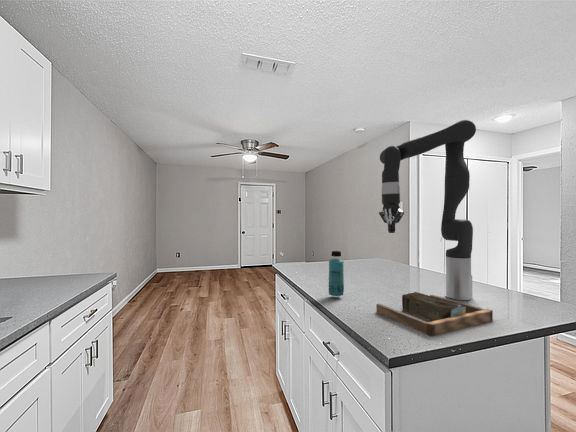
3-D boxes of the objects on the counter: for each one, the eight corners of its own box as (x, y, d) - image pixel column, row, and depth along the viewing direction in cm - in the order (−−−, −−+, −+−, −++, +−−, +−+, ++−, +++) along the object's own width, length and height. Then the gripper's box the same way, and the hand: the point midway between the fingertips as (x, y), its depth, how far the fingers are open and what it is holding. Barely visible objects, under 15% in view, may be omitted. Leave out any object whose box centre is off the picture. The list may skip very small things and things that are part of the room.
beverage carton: (451, 329, 86) (451, 307, 86) (400, 311, 103) (400, 293, 104) (467, 324, 90) (466, 304, 90) (415, 307, 107) (415, 290, 107)
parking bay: (432, 302, 113) (432, 293, 113) (492, 320, 93) (492, 310, 93) (376, 312, 101) (376, 302, 101) (431, 336, 81) (431, 324, 81)
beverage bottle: (326, 295, 123) (326, 250, 123) (341, 295, 124) (341, 249, 124) (330, 300, 117) (330, 252, 117) (346, 299, 117) (345, 251, 117)
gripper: (409, 192, 118) (410, 233, 118) (386, 194, 130) (386, 231, 130) (395, 191, 115) (396, 234, 115) (373, 194, 127) (374, 232, 127)
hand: (391, 232), depth 123 cm, fingers closed
